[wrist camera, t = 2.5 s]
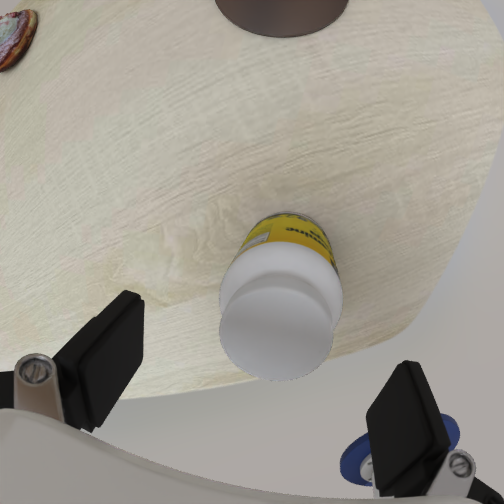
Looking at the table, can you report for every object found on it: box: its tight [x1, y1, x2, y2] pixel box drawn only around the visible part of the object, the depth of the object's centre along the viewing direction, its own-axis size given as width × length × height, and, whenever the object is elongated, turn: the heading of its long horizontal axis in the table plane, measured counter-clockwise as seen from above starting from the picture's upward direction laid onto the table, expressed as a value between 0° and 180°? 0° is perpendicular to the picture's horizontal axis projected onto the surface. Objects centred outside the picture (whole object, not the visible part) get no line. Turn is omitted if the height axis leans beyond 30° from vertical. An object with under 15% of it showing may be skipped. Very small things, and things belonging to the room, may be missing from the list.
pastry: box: [0, 9, 37, 73], centre depth 16 cm, size 8×8×5 cm
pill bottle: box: [219, 212, 343, 381], centre depth 17 cm, size 6×6×11 cm
